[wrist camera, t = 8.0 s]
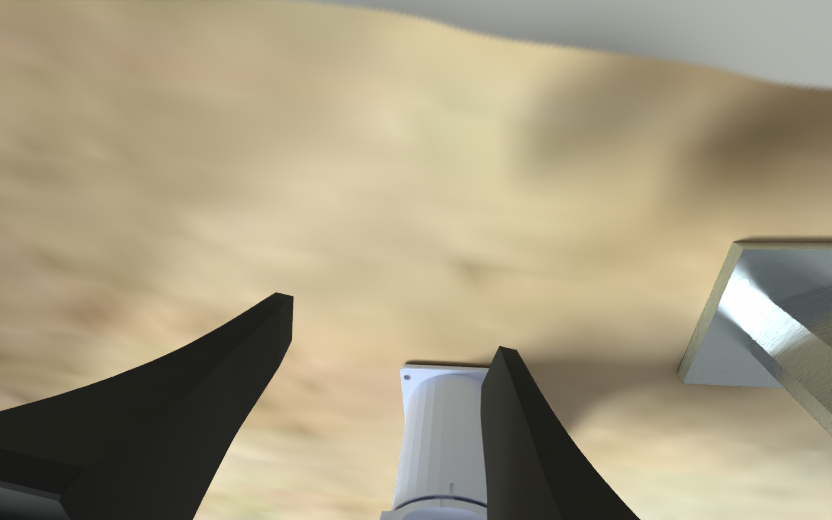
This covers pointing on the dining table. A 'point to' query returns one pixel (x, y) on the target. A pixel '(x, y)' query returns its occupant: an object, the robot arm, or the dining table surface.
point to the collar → (799, 349)
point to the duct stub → (749, 308)
